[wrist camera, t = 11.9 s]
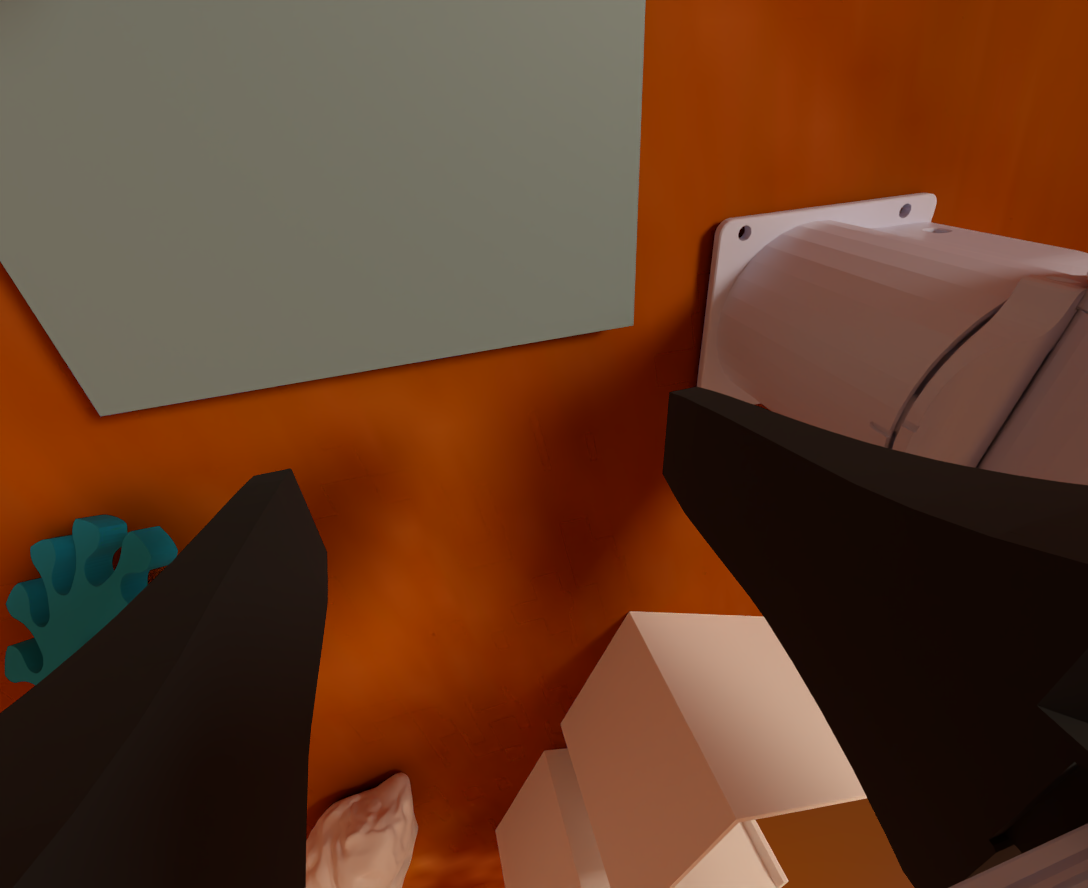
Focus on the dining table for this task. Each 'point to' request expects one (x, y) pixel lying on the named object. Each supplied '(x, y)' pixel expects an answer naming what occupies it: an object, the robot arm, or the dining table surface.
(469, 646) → the dining table surface
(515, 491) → the dining table surface
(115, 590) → the gear
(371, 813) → the bust
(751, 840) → the storage container
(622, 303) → the base plate
